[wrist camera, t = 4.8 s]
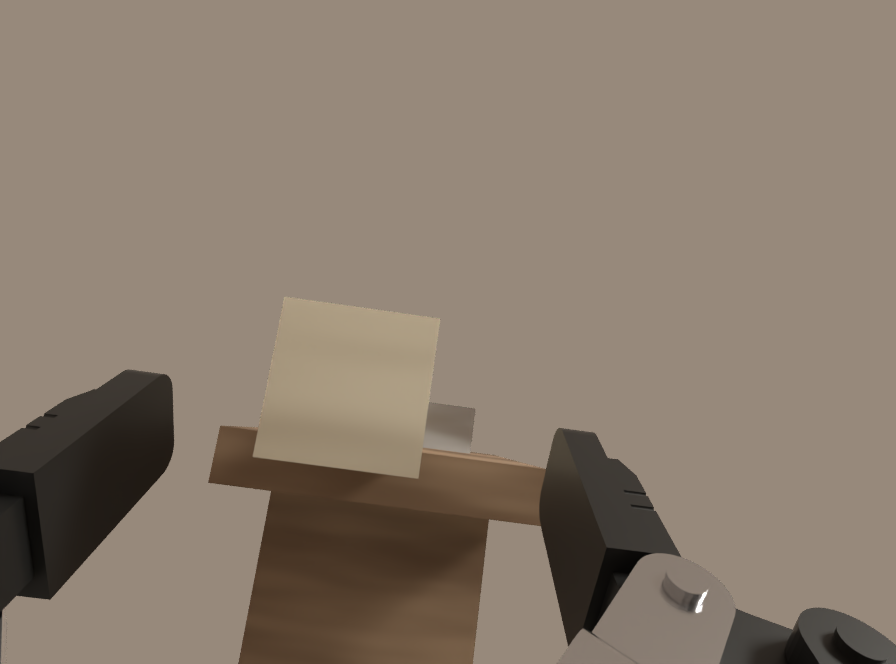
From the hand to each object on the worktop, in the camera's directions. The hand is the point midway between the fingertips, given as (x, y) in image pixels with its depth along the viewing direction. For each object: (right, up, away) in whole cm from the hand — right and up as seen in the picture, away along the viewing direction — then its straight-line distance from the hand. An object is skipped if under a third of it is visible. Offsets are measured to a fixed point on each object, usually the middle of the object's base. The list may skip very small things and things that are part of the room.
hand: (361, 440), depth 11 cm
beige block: (-1, -2, +8) cm, 9 cm away
